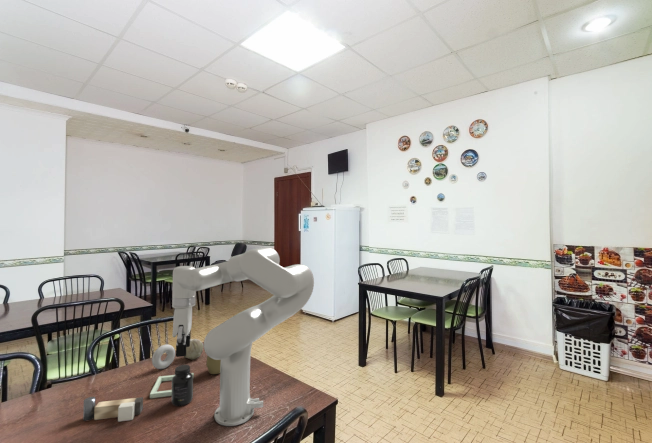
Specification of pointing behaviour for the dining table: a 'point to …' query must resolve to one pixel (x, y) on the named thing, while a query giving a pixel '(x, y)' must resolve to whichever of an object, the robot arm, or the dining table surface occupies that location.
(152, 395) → the seat frame
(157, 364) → the donut
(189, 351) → the garlic bulb
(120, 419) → the block
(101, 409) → the leg
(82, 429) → the dining table surface
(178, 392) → the supplement bottle
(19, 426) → the dining table surface
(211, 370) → the squeeze bottle
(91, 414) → the pivot post
